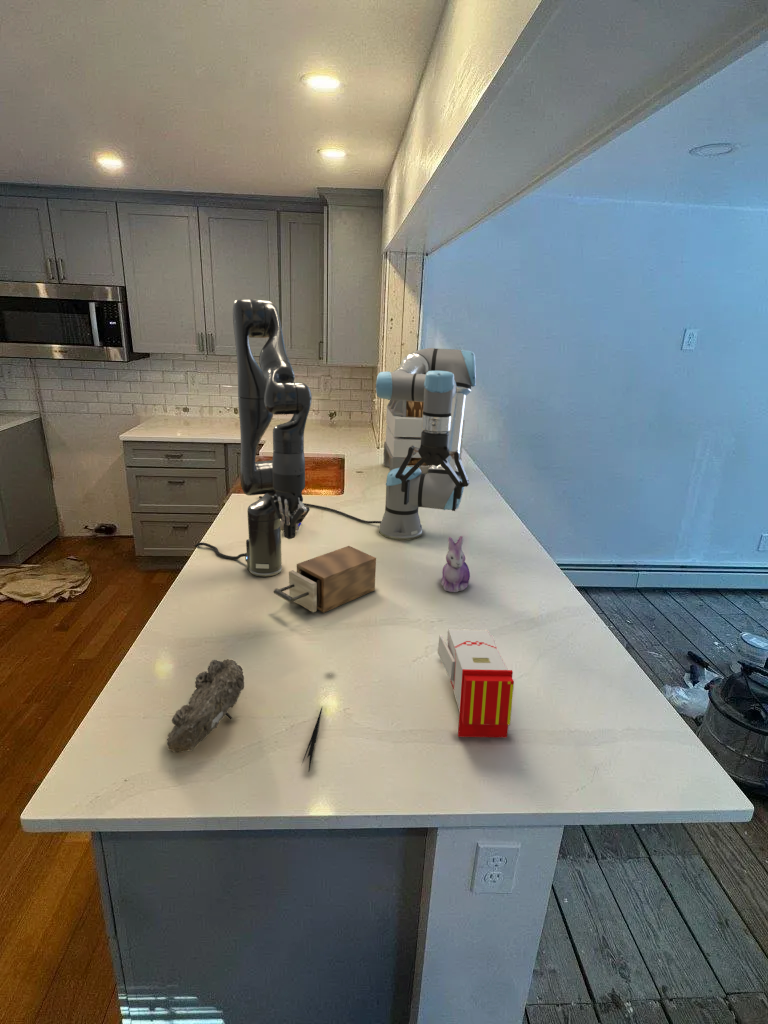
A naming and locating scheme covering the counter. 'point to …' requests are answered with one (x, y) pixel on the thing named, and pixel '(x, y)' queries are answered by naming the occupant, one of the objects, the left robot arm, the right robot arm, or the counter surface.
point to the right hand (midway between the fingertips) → (430, 506)
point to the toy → (478, 682)
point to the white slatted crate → (404, 432)
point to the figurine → (455, 568)
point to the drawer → (302, 590)
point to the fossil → (206, 705)
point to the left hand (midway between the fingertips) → (289, 537)
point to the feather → (313, 740)
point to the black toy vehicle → (283, 525)
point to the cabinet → (342, 575)
